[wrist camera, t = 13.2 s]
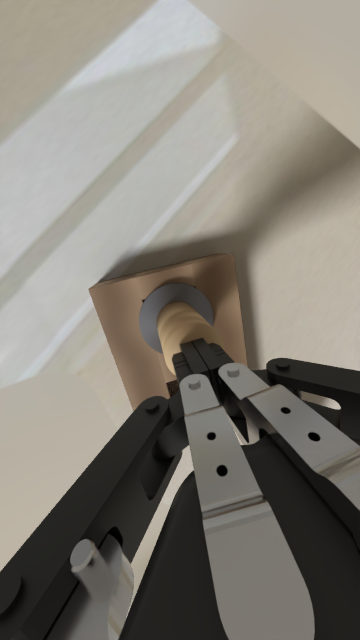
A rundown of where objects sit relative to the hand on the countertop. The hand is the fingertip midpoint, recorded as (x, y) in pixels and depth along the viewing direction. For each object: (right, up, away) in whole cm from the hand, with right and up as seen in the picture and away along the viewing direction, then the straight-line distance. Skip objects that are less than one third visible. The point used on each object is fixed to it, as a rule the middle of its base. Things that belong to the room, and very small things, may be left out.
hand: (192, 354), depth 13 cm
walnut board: (-1, -1, +12) cm, 12 cm away
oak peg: (-2, +3, +10) cm, 11 cm away
